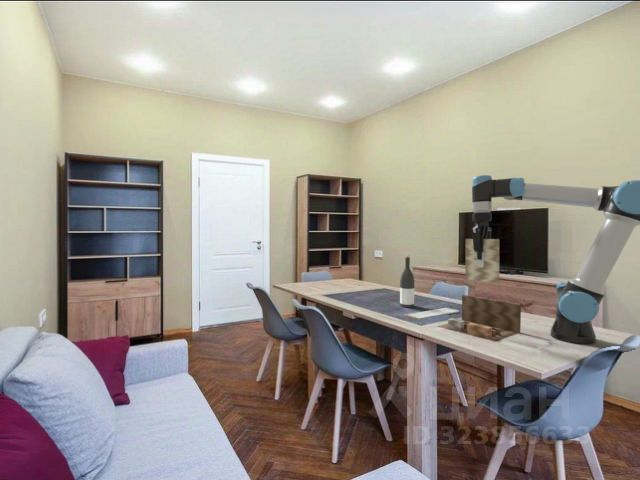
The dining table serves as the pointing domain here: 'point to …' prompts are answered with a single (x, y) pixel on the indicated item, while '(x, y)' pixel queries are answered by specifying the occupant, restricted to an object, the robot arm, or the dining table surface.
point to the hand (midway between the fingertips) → (482, 267)
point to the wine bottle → (407, 286)
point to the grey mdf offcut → (456, 324)
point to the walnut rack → (490, 316)
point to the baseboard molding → (432, 313)
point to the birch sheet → (490, 261)
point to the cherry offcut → (479, 330)
